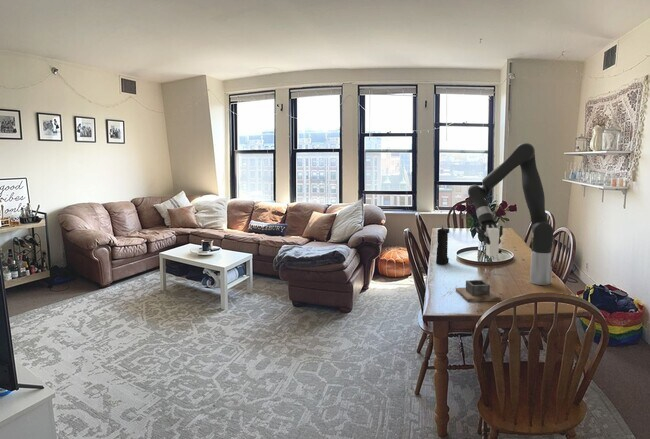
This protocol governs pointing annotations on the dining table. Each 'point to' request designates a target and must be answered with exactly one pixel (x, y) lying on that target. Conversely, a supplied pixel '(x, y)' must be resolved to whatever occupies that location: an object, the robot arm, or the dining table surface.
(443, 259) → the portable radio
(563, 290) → the dining table surface
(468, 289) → the square socket base
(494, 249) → the plug block
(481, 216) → the robot arm
